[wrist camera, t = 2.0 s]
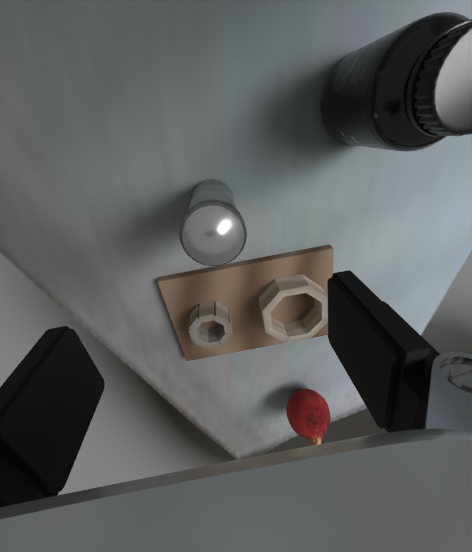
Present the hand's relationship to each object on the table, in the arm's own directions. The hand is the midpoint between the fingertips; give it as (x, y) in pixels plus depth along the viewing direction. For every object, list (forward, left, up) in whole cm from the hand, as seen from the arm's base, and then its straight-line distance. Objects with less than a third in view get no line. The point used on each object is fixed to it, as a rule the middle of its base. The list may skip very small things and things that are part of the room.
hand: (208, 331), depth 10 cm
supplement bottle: (-14, -6, -19) cm, 25 cm away
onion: (-7, +30, -19) cm, 36 cm away
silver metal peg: (0, 0, -19) cm, 19 cm away
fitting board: (-2, +13, -19) cm, 23 cm away
